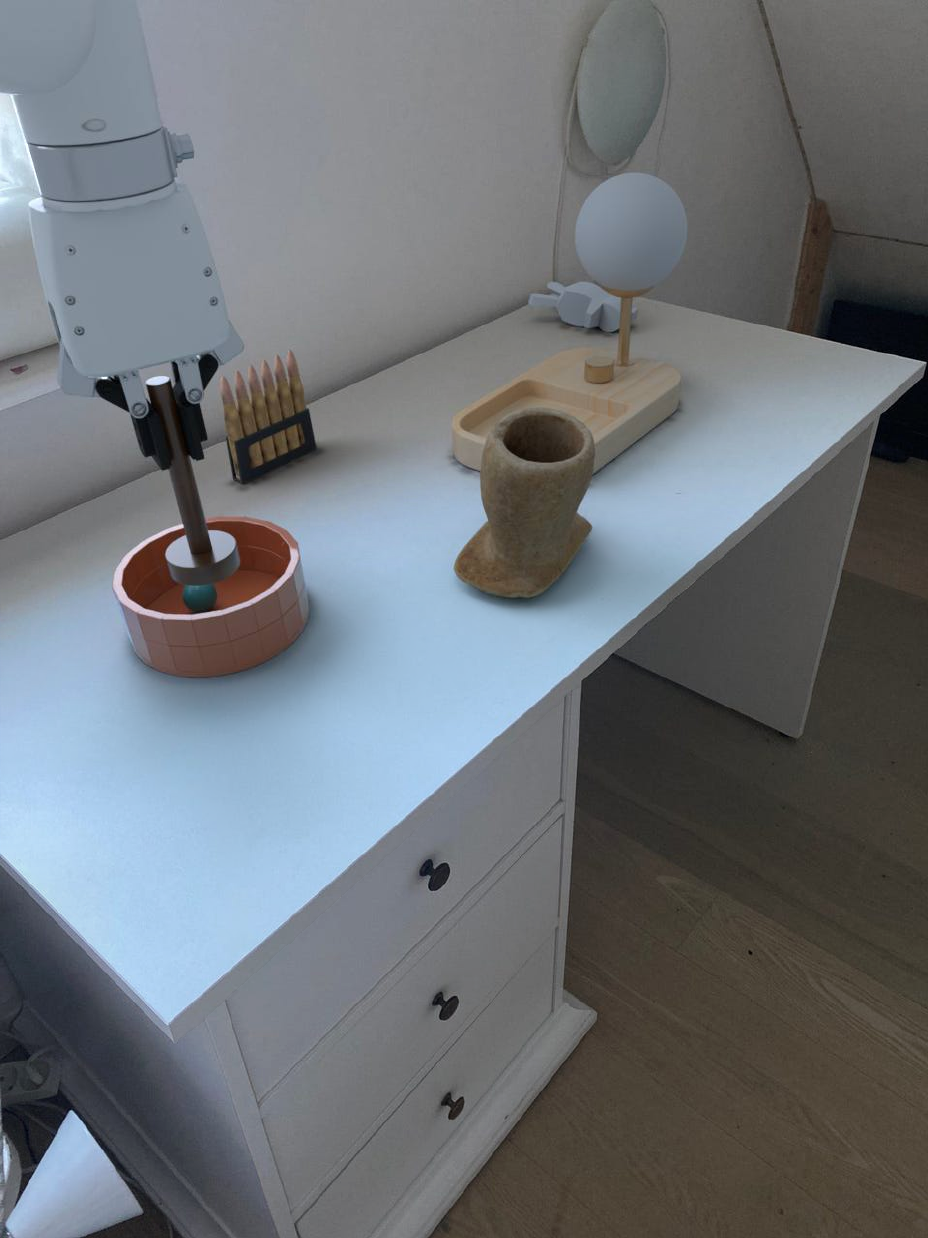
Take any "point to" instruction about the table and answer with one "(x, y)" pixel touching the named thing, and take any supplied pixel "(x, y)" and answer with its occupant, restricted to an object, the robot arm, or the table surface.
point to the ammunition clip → (266, 420)
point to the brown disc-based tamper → (189, 504)
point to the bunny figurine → (583, 305)
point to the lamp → (615, 380)
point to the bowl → (239, 621)
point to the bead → (199, 597)
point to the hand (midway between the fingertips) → (177, 455)
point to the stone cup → (529, 503)
